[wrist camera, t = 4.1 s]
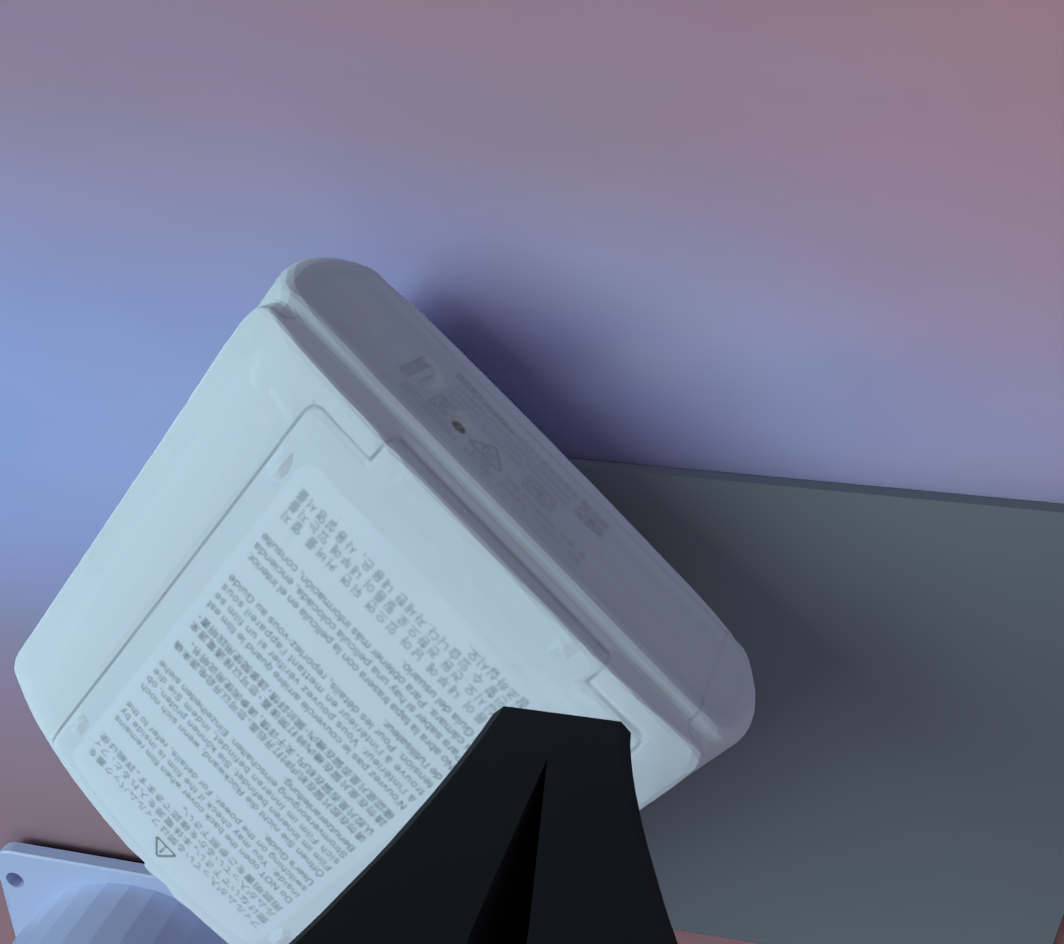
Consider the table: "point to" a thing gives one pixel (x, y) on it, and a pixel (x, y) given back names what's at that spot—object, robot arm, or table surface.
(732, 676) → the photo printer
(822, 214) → the table surface
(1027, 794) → the mat
